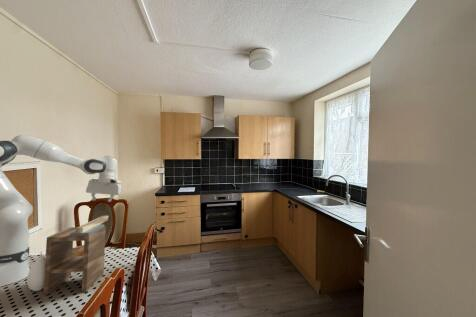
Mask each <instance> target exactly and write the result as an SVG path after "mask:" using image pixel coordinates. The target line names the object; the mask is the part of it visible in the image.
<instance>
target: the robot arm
mask: <svg viewBox="0 0 476 317" xmlns="http://www.w3.org/2000/svg"><path fill="white" fill-rule="evenodd" d="M20 155H22V156H26V157H31V158H33V159H37V160H41V161H45V162H53V163H61V164H64V165H69V166H71V167H75V168H78V169H80V170H82V172H83V173H85V174H87V175H95V174H99V175H98V178H97V179H96V178H95V179H94V178H91V179H90V180H88V183H87V186H86V188H85V189H86V190H85V192H86V193H89V194H91V198H92V199H91V200H92V201H96V200H97V197H96V194H98V195H99V194H100V195H108V196H109V195H110V196H109V198H107V202H108V203H109V202H112V199H113V198H115V196H119V195H121V193H122V185H121V184H122V180H119V179H116V178H115V176H116V172H117V169H118V160H117V159H116V157H113V156H110V155H104V156H103V157H98V158H91V159H84V158H80V157H78V156H75V155H72V154H70V153H68V152H66V151H65V150H64V149H63V148H62V147H60V146H59V145H57V144H55V143H53V142H50V141H48V140H45V139H42V138H39V137H35V136H32V135H27V134H18V135H16V136H14V137H13V138H11V140H0V288H1V287H4V286H7V285H8V286H9V285H11V284H14V283H17V282H19V281H20V282H21V281H22V280H23V279H26V278H27V277H28V273H29V271H30V269H31V267H30V262H29V255H30V247H29V243H30V242H29V240H30V232H29V231H30V230H29V224H28V222H29V221H28V220H29V217H31V215H32V214H33V211H34V207H33V205H32V203H30V202H29V201H28V199H27V198H25V196H23V194H21V193H20V192H19V191H18V190H17V188H16V187H15V186H14V185H13V184H12V182H11V180H9V178H8V176H7V175H6V174H5V172H3V170H2V167H3V166H5V165H7V164H8V163H11V162H12V161H13V160H14V159H15V158H16V157H17V156H20Z"/></svg>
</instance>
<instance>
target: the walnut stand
mask: <svg viewBox="0 0 476 317" xmlns="http://www.w3.org/2000/svg"><path fill="white" fill-rule="evenodd" d="M76 228H77V226H74V227H68V228H66V229H63V230H60V231H58V232H56V233H54V234H51V235H49V236H47V237H46V244H45V274H44V288H43V292H42V293H43V294H42V295H43V296H47V295H49V294H51V293H52V292H53V291H54V290H55V289H57V288H58V287H59V286H61V285H62V284H63V283H65V282H66V281H67V280H68V279H70V278H71V277H72V273H79V272H81V273H82V277H81V280H82V281H81V293H87V292H88V291H89V290H90V287H91V286H92V285H93V284H94V283H95V282H96V281H97V282H98V281H99V280H100V279H101V278H102V275H103V276H104V271H105V270H104V268H105V267H104V266H105V250H106V247H105V246H106V228H107V227H106V226H104V227H103V228H102V229H100V230H98V231H96V232H95V233H93V234H91V235H89V236H70V233H72V232H74V231H76ZM78 241H79V242H80V241H81V242H83V245H84V256H72V250H73V248H74V247H73V245H74V242H78ZM99 278H100V279H99ZM97 282H96V283H97ZM96 283H95V284H96ZM95 284H94V285H95ZM94 285H93V286H94ZM93 286H92V287H93ZM92 287H91V288H92Z"/></svg>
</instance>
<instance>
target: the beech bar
mask: <svg viewBox="0 0 476 317" xmlns="http://www.w3.org/2000/svg"><path fill="white" fill-rule="evenodd" d="M108 220H109V215H101V216H99V217H97V218H95V219H93V220H91V221H88V222H86V223H84V224H82V225H80V226H78V227H77V226H76V227H77V228H76V233H84V232H86V231H88V230H90V229H92V228H94V227H95V226H97V225H99V224H104V223H105V222H107V221H108Z"/></svg>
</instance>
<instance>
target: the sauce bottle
mask: <svg viewBox="0 0 476 317" xmlns="http://www.w3.org/2000/svg"><path fill="white" fill-rule="evenodd" d="M45 258H46V255H43V253H42V251H40V256H38V257H37V258H36V260H35V261H34V262H33V263H32V265H31V267H30V271H29V273H28V276H27V277H26V278H27V279H26V285H27V287H28V289H29V290H31V291H34V292H39V291H41V290H42V289H43V290H44V274H45Z"/></svg>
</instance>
